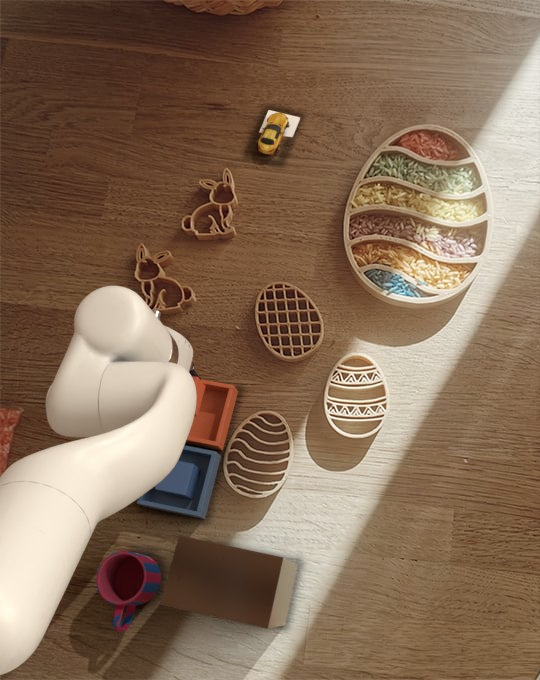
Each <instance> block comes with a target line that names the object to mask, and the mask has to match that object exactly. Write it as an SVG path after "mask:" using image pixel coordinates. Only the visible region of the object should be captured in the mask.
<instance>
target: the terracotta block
mask: <svg viewBox="0 0 540 680" xmlns="http://www.w3.org/2000/svg"><path fill="white" fill-rule="evenodd" d="M192 378H193V380H194V383H195V387H196V394H197V400H196V410H195V414H194V416H198V412H199V409H200V405H201V401H202V398H203V394H204V390H205V387H206V386H205V385H204V384H203V383H202V381H201V380H200V379H199V378H198V377H195V376H192Z"/></svg>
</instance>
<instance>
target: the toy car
mask: <svg viewBox="0 0 540 680" xmlns="http://www.w3.org/2000/svg"><path fill="white" fill-rule="evenodd" d="M300 121H301V116H297V115H296V116H295V115H292V114H288V113H283V112H279V111H275V110H270V109H268V111H267V113H266V115H265V117H264V120H263V122H262V124H261V126H260V129H259V131H258V133H259V134H261V135H260V137H259V139H258V140H257V142H256V146H257V148H258V152H259V153H261V154H263V155H269V156H273V155H274V154H275V153H277V152H279V151H281V147H280V145H281V143H282V139H283V137H286V138H287V137H288V138H293V137H294V135H295V132H296V130H297V128H298V125H299V123H300Z"/></svg>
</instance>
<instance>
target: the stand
mask: <svg viewBox="0 0 540 680" xmlns="http://www.w3.org/2000/svg"><path fill="white" fill-rule="evenodd" d="M298 566H299V565H298V564H297V563H295V562H293V561H291V560H289V559H287V558H286V557H283V556H278V555H274V554H269V553H264V552H259V551H255V550H250V549H245V548H240V547H236V546H231V545H226V544H223V543H218V542H212V541H209V540H203V539H198V538H194V537H189V536H184V535H178V537H177V541H176V545H175V549H174V553H173V556H172V560H171V564H170V567H169V571H168V575H167V579H166V582H165V586H164V590H163V594H162V597H161V601H160V605H161V606H165V607H169V608H173V609H178V610H183V611H187V612H193V613H195V614H201V615H205V616H209V617H214V618H218V619H222V620H226V621H231V622H237V623H240V624H245V625H248V626H249V625H250V626H254V627H258V628H259V627H260V628H262V629H267V630H268V629H273V628H278V627H279V628H280V627H284V626H286V622H287V618H288V613H289V609H290V604H291V599H292V596H293V590H294V587H295V586H294V585H295V580H296V576H297V572H298V568H299V567H298Z"/></svg>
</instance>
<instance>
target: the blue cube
mask: <svg viewBox="0 0 540 680" xmlns="http://www.w3.org/2000/svg"><path fill="white" fill-rule="evenodd" d="M200 471H201V469H199V468H198V467H197V466H195V465H194V464H191V463H186V462H181V461H177V463H176V465H175V466H174V468H173V469H172V470H171V472H170V473H169V474H168V475H167V476H166V477H165V478H164V479H163V480H162V481H161V482H159V483H158V484H157V485H156V487H155V489H156V490H158V491H160V492H162V493H164V494H168V495H173V496H178V497H182V498H187V499H192V500H193V497H194V493H195V489H196V486H197V482H198V478H199V475H200Z"/></svg>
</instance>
